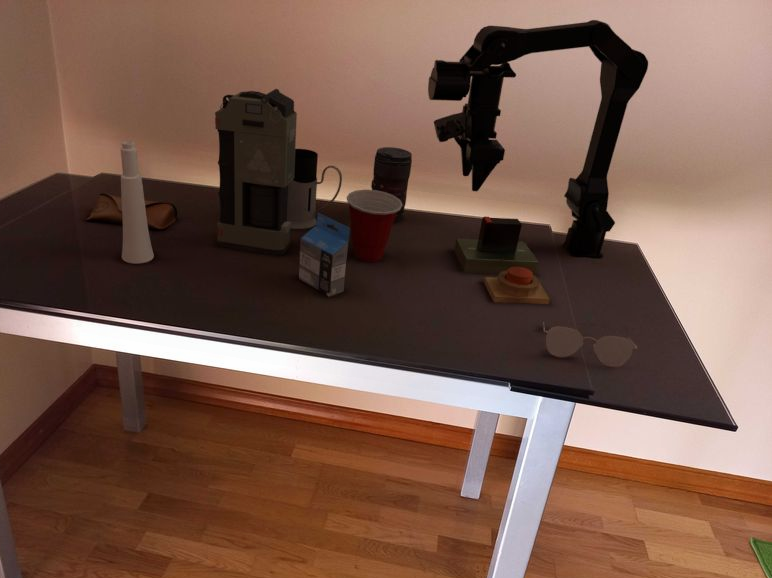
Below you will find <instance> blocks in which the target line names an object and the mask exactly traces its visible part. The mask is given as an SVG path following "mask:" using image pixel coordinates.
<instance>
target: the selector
mask: <svg viewBox="0 0 772 578" xmlns="http://www.w3.org/2000/svg"><path fill="white" fill-rule="evenodd" d="M522 226H523V224H522V222H521V220H520V219H519V218H508V217H490V216H483V217H482V219H481V224H480V229H479V233H478V238H477V239H478V244H477V246H478V248H479V250H480V252H501V253H516V249H517V244H518V241H520V240H519V239H520V236H521V231H522Z"/></svg>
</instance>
